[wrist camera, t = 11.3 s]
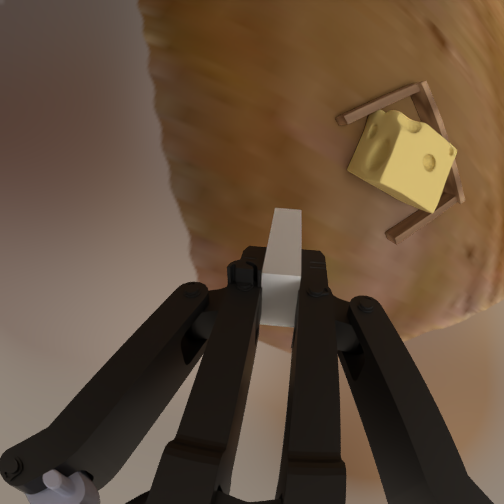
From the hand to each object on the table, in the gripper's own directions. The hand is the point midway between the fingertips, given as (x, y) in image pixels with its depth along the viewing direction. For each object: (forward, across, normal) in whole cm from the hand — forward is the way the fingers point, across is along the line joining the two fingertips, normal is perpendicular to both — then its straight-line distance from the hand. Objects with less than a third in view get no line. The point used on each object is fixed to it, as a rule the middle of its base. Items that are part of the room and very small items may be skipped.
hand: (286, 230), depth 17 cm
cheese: (+28, +14, 0) cm, 31 cm away
